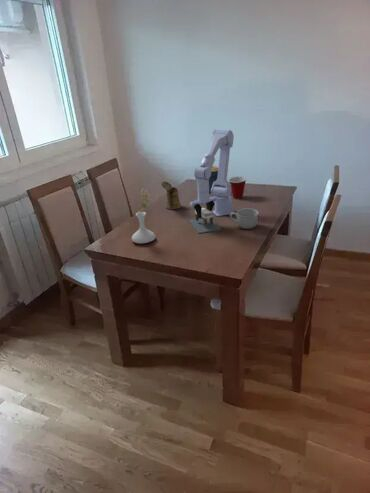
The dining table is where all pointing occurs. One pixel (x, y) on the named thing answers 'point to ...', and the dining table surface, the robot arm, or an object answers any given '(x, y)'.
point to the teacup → (246, 218)
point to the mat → (204, 229)
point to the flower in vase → (143, 233)
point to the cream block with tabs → (205, 216)
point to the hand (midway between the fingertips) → (204, 216)
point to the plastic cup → (237, 186)
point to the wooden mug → (171, 196)
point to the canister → (213, 177)
